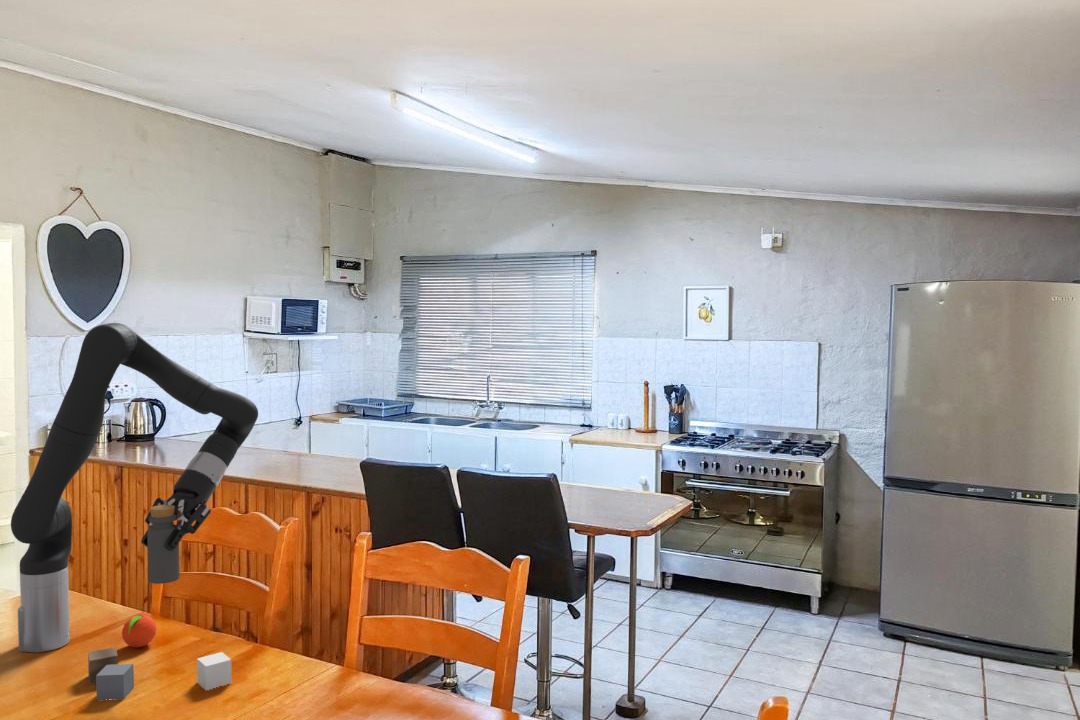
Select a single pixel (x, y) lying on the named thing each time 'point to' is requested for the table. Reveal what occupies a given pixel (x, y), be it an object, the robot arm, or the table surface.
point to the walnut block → (100, 661)
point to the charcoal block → (115, 681)
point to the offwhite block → (214, 671)
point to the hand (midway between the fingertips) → (156, 546)
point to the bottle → (162, 546)
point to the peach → (139, 631)
